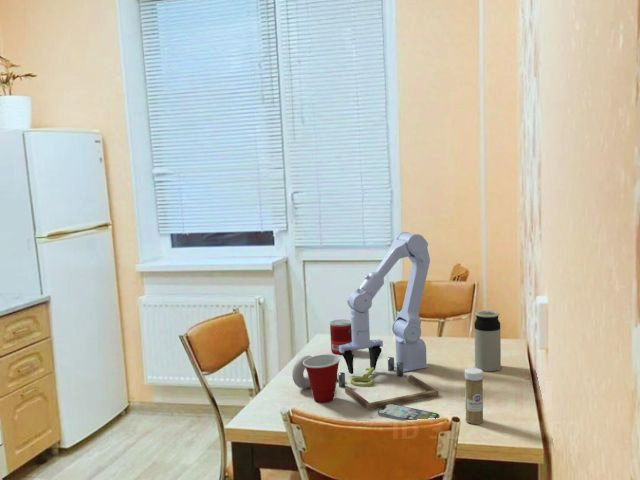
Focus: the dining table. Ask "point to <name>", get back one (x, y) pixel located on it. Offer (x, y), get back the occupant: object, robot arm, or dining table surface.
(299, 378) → the donut
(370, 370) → the key
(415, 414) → the smartphone
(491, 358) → the travel mug
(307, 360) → the plastic cup
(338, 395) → the dining table surface
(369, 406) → the bay
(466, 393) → the sprinkles bottle
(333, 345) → the canned food
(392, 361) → the spacers
